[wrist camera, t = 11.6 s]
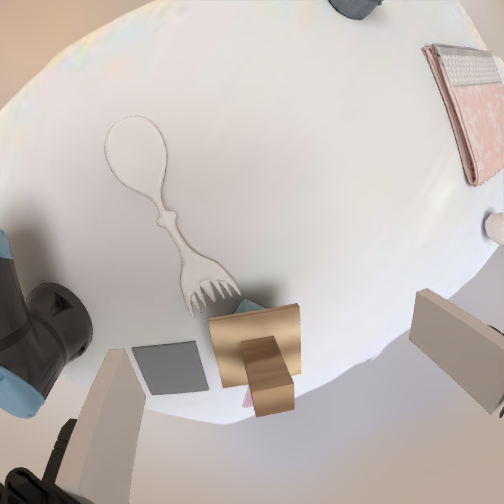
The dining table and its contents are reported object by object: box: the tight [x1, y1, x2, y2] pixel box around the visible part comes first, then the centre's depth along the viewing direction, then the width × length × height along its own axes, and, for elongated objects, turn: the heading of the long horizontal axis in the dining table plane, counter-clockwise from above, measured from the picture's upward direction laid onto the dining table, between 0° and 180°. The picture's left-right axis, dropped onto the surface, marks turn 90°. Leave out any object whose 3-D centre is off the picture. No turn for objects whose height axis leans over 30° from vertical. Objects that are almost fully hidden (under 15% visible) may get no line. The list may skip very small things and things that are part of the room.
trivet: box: [132, 341, 209, 395], centre depth 46 cm, size 12×12×1 cm
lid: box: [208, 303, 301, 417], centre depth 32 cm, size 12×12×11 cm
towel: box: [422, 43, 504, 187], centre depth 39 cm, size 36×34×6 cm
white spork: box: [105, 116, 241, 319], centre depth 37 cm, size 9×32×4 cm, turn 26°
